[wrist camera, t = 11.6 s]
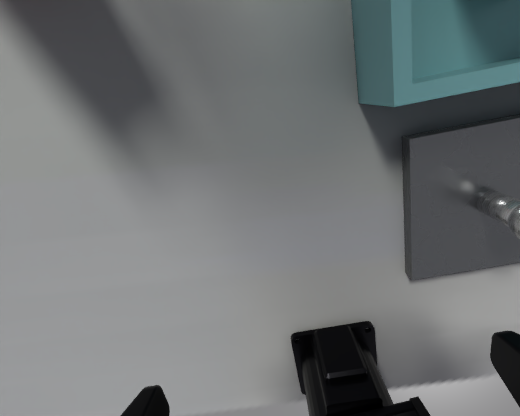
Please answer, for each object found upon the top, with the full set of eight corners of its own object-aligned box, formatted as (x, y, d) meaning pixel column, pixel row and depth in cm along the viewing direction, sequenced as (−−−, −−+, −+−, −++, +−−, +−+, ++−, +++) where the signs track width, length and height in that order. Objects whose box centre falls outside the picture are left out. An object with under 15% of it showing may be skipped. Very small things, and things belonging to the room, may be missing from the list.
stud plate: (546, 248, 22) (633, 295, 17) (405, 272, 22) (448, 324, 17) (569, 104, 18) (689, 108, 13) (401, 137, 19) (455, 153, 14)
